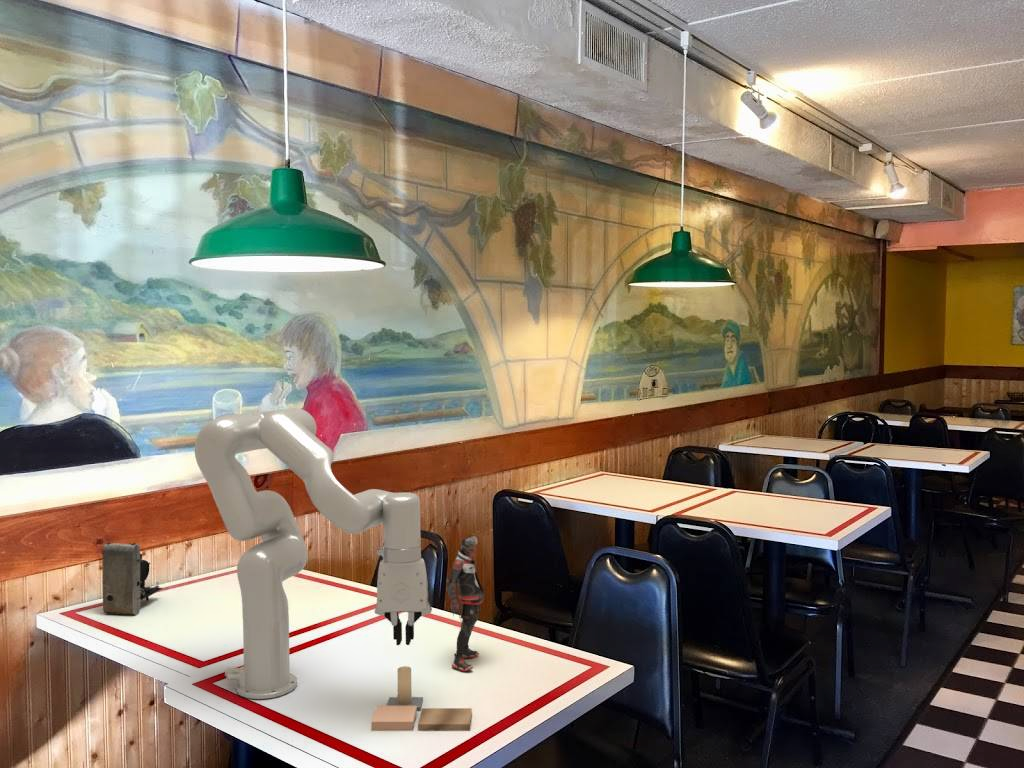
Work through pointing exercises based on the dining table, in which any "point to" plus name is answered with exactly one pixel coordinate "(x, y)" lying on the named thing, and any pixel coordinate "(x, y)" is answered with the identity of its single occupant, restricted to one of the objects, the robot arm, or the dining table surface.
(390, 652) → the dining table surface
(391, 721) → the tile
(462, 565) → the action figure
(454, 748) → the dining table surface
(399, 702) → the float
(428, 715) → the board
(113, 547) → the vintage camera
